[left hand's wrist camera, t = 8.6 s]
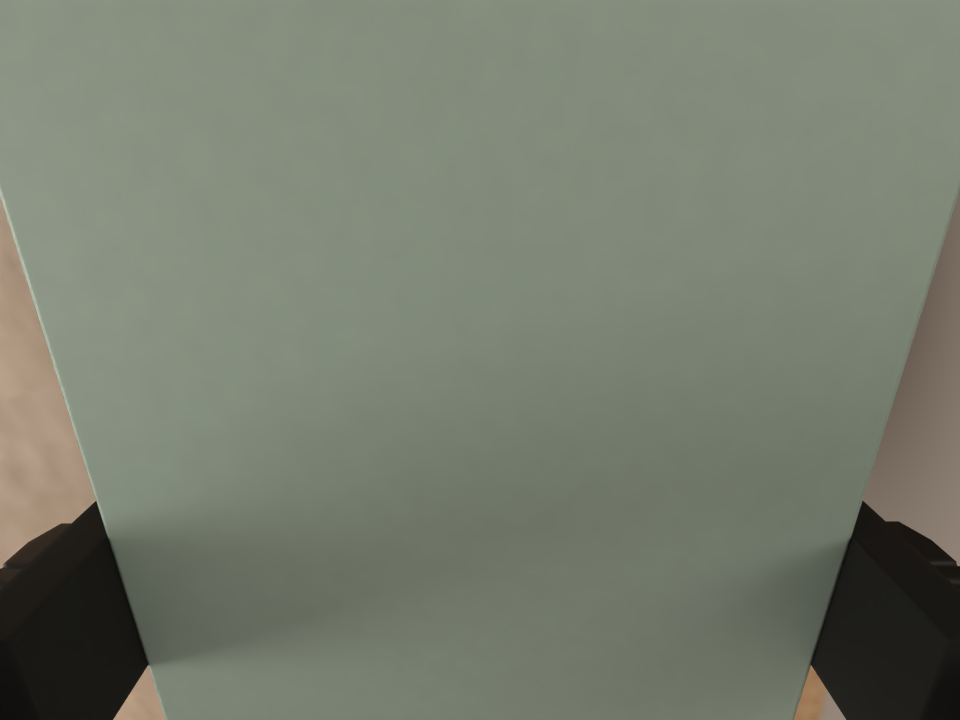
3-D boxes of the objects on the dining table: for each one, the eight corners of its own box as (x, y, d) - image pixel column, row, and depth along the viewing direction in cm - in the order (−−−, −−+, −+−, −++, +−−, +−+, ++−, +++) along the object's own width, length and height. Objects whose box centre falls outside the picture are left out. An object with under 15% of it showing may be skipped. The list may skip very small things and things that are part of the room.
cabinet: (173, -386, 10) (-605, -1683, 3) (783, -386, 10) (1557, -1676, 3) (301, 484, 18) (171, 747, 10) (658, 484, 18) (787, 747, 10)
